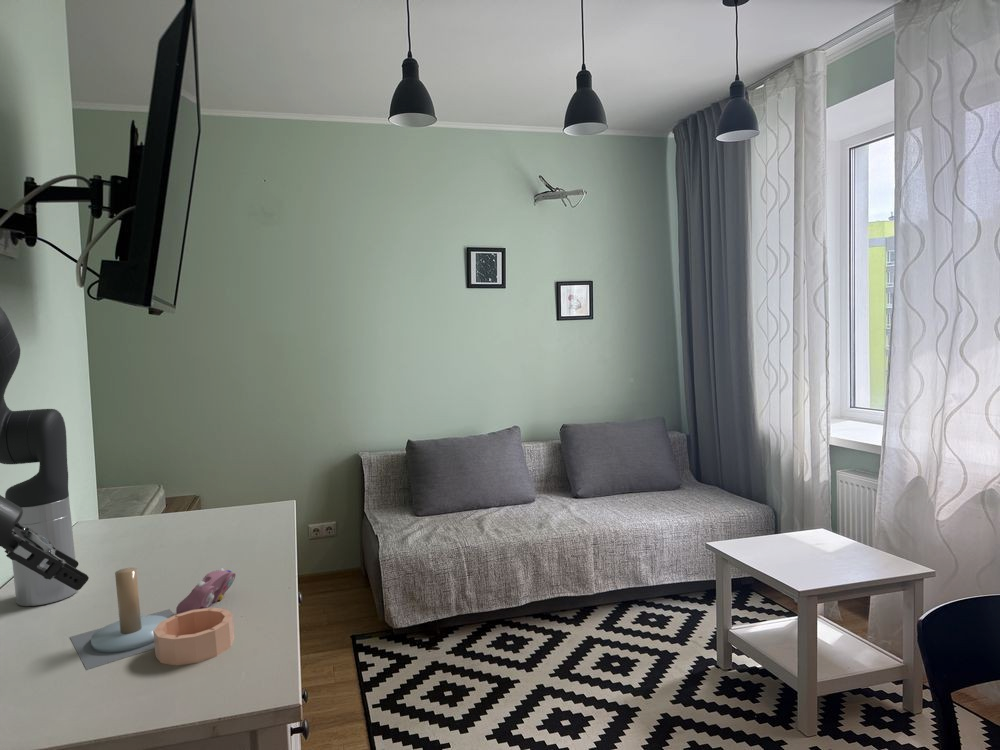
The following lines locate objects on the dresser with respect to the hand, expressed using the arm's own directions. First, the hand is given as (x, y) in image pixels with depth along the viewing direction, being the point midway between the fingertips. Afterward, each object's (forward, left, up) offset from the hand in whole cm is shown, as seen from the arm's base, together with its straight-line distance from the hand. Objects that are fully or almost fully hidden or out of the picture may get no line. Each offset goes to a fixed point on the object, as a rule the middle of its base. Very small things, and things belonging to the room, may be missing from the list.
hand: (78, 576), depth 99 cm
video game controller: (-5, +18, -12) cm, 22 cm away
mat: (0, +6, -11) cm, 13 cm away
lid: (0, +6, -11) cm, 12 cm away
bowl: (+11, +12, -11) cm, 20 cm away
